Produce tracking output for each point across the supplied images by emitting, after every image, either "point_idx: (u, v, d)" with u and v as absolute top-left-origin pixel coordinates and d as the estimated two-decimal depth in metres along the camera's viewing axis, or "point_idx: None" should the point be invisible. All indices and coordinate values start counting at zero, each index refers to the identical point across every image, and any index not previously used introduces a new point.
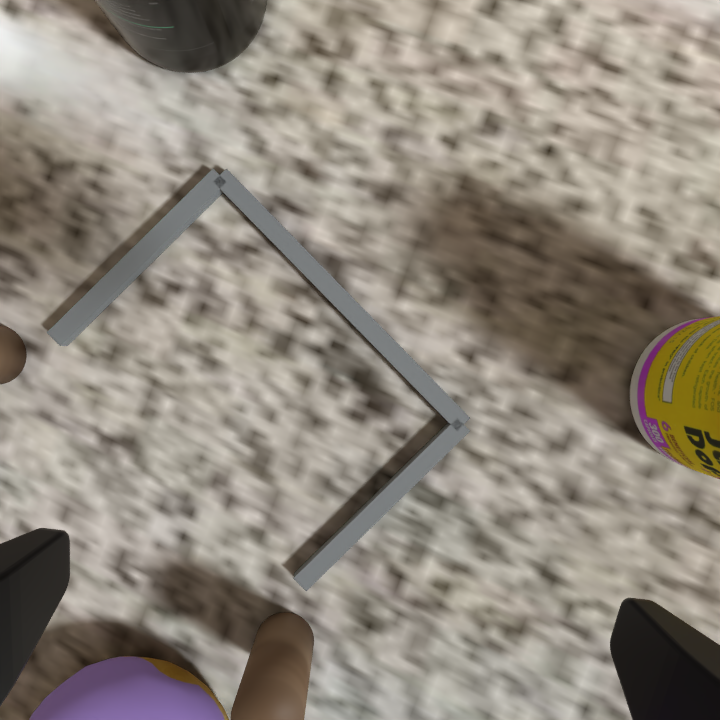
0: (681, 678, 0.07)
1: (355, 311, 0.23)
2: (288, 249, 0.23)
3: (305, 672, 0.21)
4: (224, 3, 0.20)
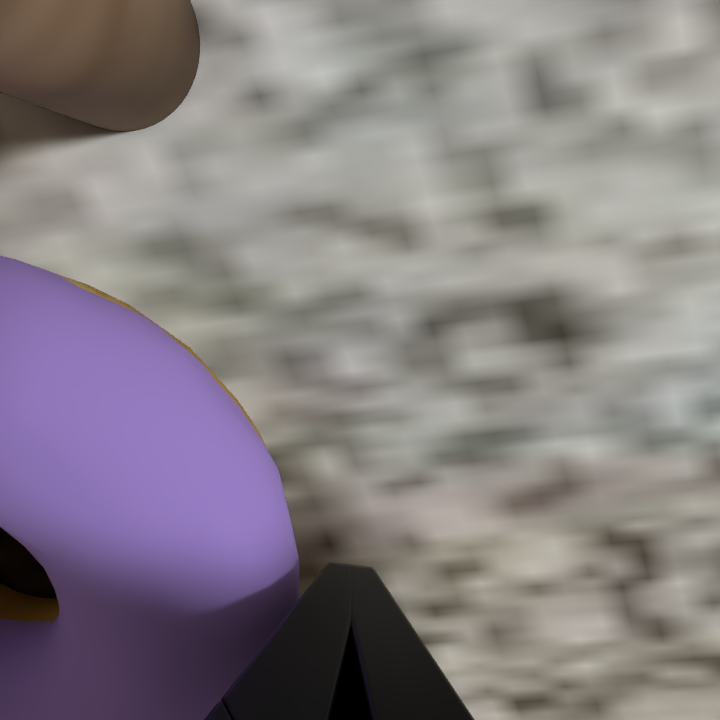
0: None
1: None
2: None
3: None
4: None
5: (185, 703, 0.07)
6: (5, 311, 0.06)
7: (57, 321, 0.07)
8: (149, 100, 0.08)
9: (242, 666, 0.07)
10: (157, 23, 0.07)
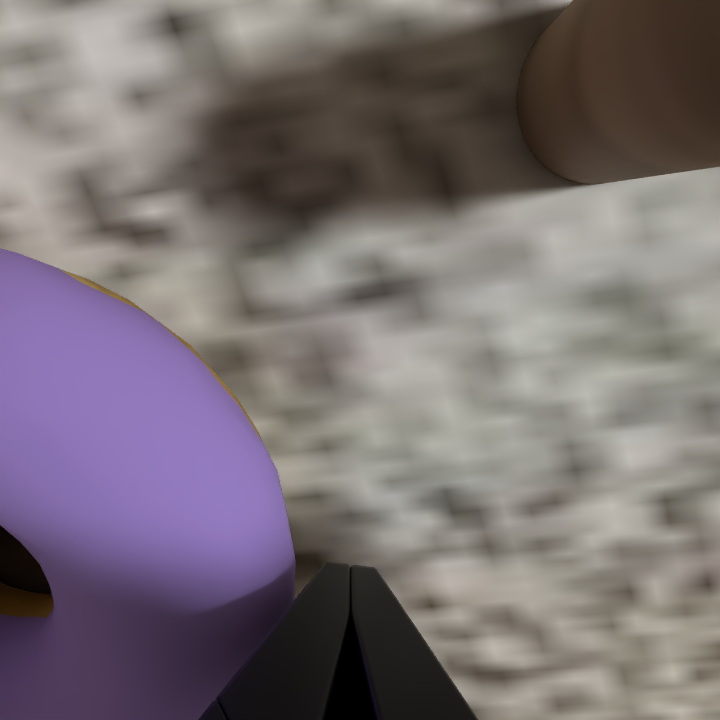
0: (349, 640, 0.07)
1: None
2: None
3: None
4: None
5: (180, 702, 0.07)
6: (9, 306, 0.06)
7: (58, 316, 0.07)
8: None
9: (237, 666, 0.07)
10: None
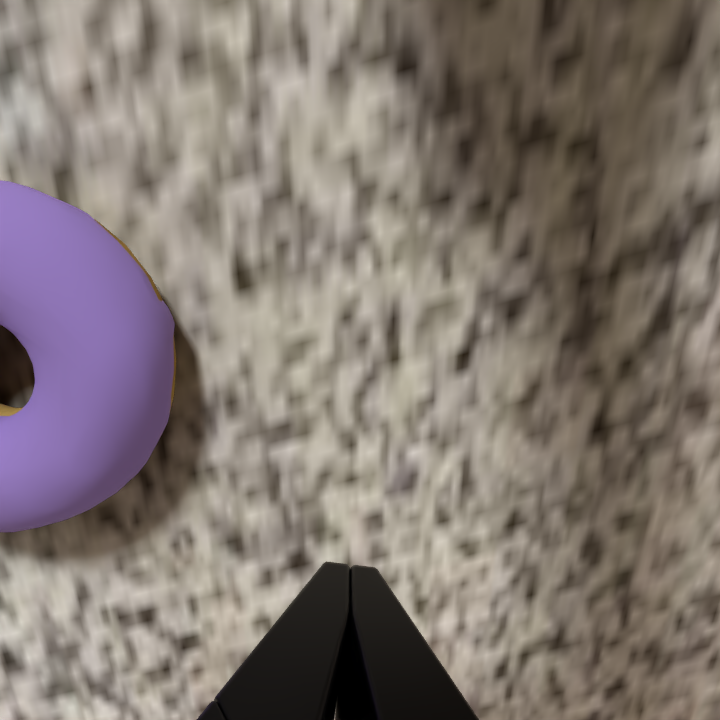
0: (349, 640, 0.07)
1: None
2: None
3: None
4: None
5: None
6: None
7: None
8: None
9: None
10: None
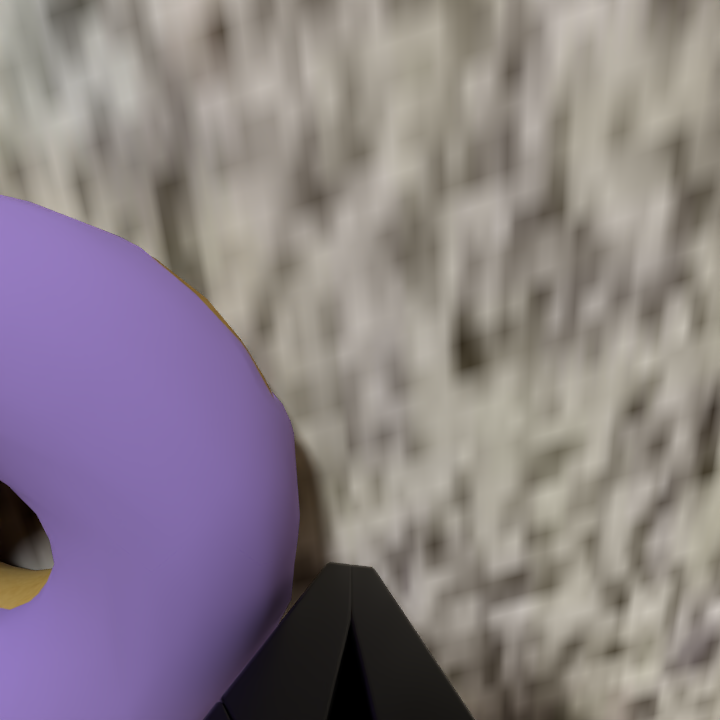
0: None
1: None
2: None
3: None
4: None
5: None
6: None
7: None
8: None
9: None
10: None
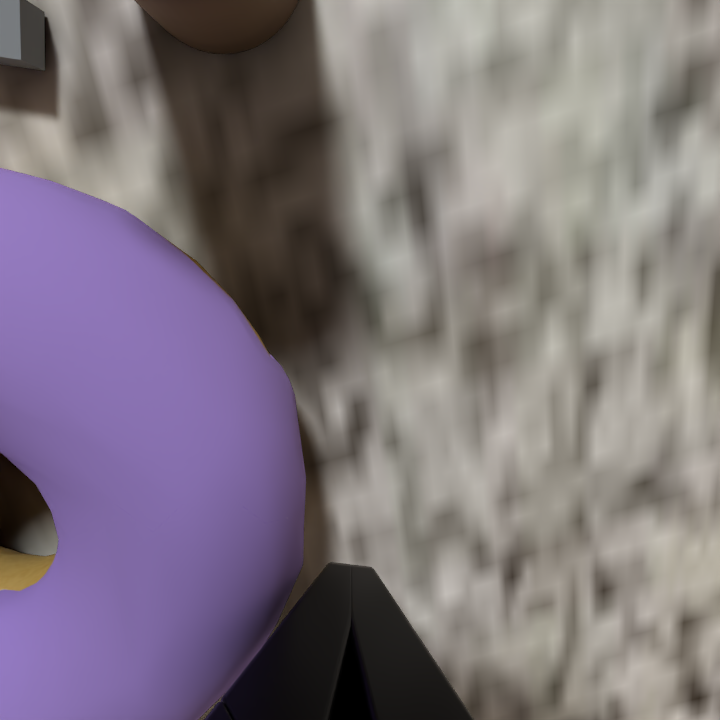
0: None
1: None
2: None
3: None
4: None
5: None
6: None
7: None
8: None
9: None
10: None
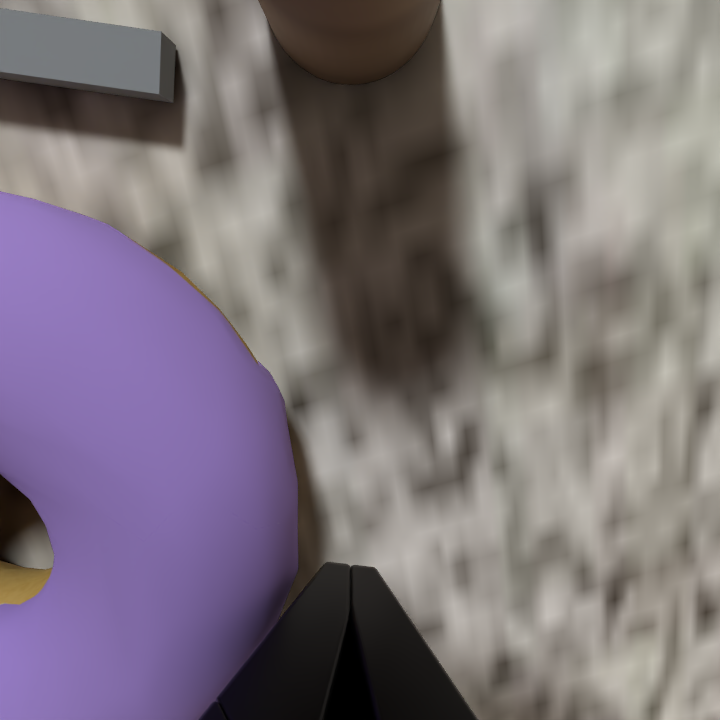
0: (349, 640, 0.07)
1: None
2: None
3: None
4: None
5: None
6: None
7: None
8: None
9: None
10: None
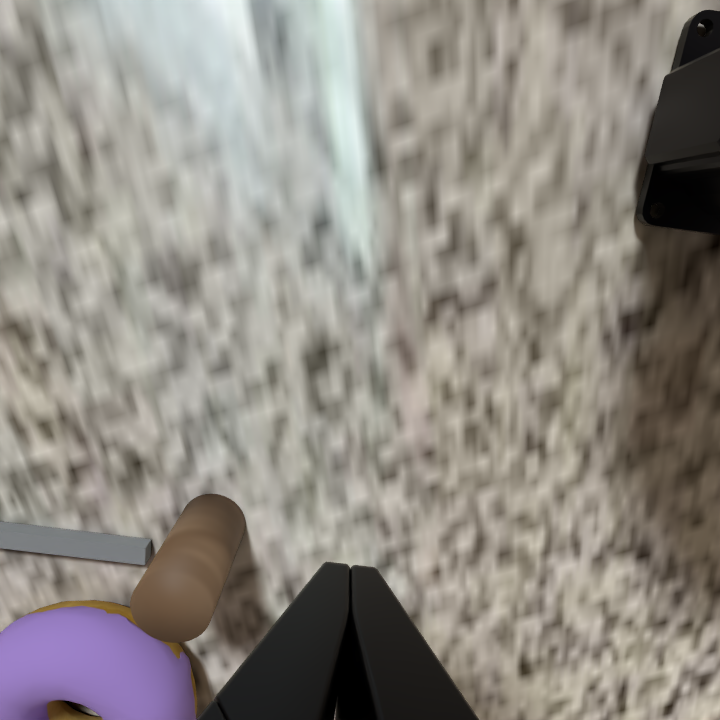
0: (349, 640, 0.07)
1: None
2: None
3: None
4: None
5: (69, 670, 0.20)
6: None
7: None
8: (232, 517, 0.21)
9: (60, 648, 0.20)
10: (207, 517, 0.20)
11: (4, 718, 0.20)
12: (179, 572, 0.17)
